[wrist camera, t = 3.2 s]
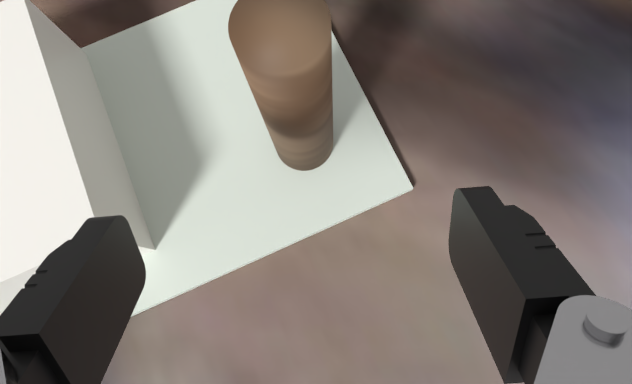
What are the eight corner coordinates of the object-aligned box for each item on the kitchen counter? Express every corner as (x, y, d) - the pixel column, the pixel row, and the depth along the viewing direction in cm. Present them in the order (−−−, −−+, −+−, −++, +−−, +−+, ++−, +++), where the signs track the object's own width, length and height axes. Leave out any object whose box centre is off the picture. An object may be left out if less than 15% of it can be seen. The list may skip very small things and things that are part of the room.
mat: (295, -36, 25) (294, -41, 24) (411, 190, 22) (413, 188, 21) (-132, 141, 24) (-140, 139, 23) (-78, 411, 20) (-86, 413, 20)
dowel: (318, 107, 22) (305, -36, 13) (342, 156, 22) (348, 44, 12) (266, 129, 22) (213, 3, 12) (289, 180, 21) (251, 87, 12)
